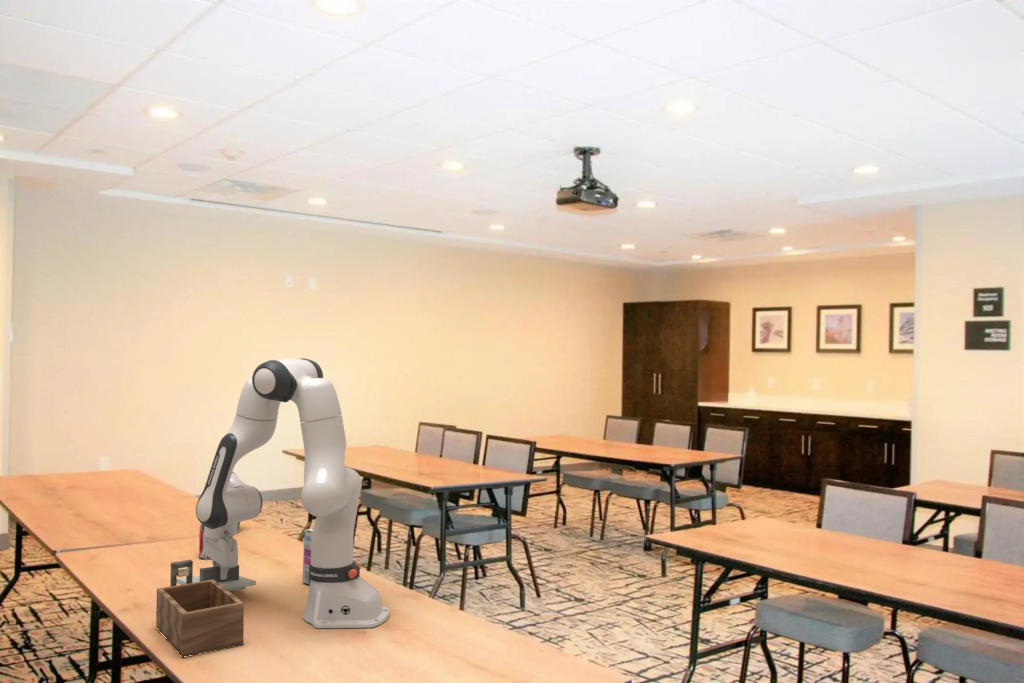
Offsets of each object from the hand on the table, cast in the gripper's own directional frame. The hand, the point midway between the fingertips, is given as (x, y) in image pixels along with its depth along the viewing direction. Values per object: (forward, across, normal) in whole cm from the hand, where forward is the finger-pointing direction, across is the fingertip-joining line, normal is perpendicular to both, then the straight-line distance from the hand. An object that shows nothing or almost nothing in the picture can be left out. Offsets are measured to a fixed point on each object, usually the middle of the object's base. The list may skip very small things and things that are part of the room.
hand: (220, 576), depth 224 cm
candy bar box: (+6, -3, -30) cm, 31 cm away
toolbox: (+6, -26, +14) cm, 30 cm away
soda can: (+6, +45, -10) cm, 46 cm away
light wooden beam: (-6, -11, +14) cm, 18 cm away
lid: (+3, +4, 0) cm, 5 cm away
